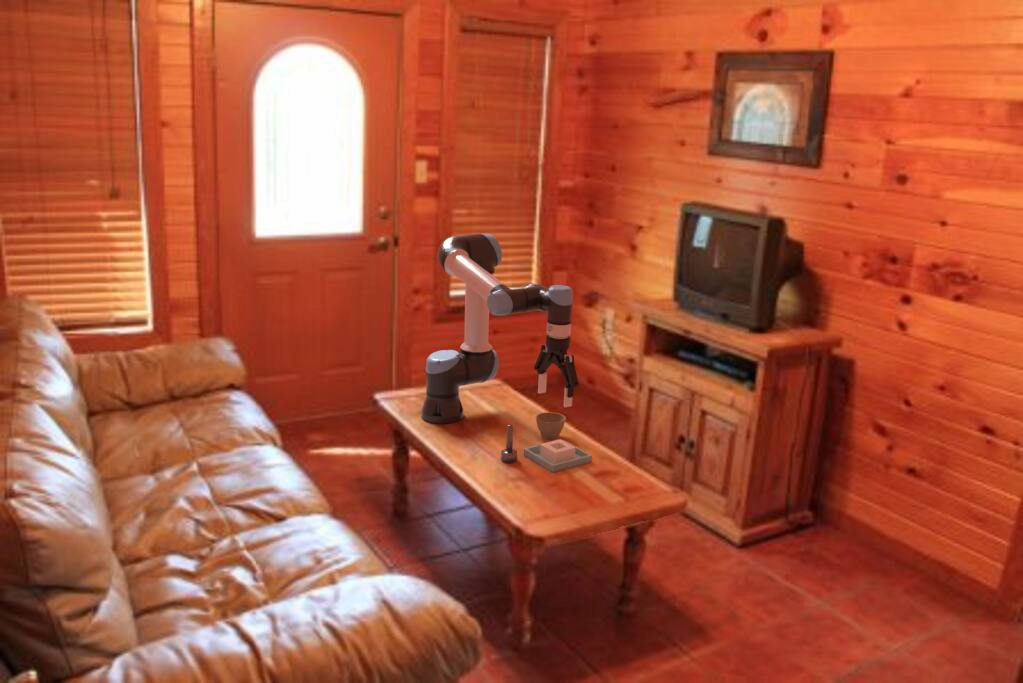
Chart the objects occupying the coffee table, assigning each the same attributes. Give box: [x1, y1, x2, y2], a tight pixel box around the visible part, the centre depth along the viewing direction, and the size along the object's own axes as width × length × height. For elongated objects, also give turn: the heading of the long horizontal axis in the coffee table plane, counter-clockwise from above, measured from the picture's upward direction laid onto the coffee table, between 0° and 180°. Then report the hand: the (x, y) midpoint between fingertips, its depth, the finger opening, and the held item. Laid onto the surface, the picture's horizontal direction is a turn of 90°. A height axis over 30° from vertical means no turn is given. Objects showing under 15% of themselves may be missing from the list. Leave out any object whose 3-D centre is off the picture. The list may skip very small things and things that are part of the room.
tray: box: [523, 438, 593, 474], centre depth 279 cm, size 16×16×2 cm
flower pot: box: [535, 411, 567, 441], centre depth 296 cm, size 10×10×7 cm
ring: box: [539, 438, 575, 464], centre depth 278 cm, size 8×8×4 cm
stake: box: [500, 423, 518, 464], centre depth 275 cm, size 5×5×12 cm
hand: (554, 399), depth 276 cm, fingers open, 13 cm apart
